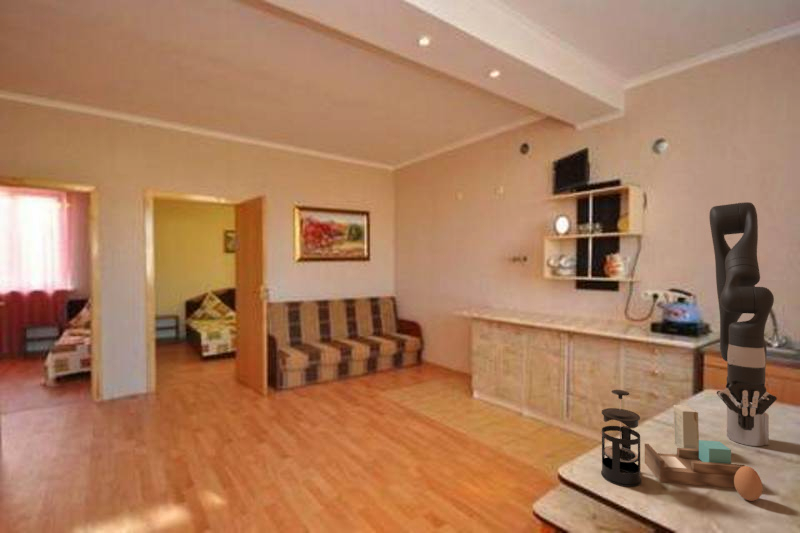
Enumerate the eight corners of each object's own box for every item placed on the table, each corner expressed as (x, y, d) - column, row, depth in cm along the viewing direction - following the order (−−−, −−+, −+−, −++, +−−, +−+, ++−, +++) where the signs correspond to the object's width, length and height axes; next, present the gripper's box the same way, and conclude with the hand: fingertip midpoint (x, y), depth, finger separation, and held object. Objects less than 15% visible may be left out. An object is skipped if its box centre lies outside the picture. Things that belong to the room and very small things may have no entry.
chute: (724, 468, 111) (724, 449, 111) (748, 489, 101) (748, 467, 101) (644, 462, 114) (644, 443, 114) (660, 481, 105) (660, 460, 105)
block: (719, 459, 109) (719, 441, 109) (731, 469, 104) (731, 449, 104) (698, 458, 110) (698, 440, 109) (709, 467, 105) (709, 448, 105)
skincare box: (699, 453, 120) (699, 412, 119) (683, 452, 120) (683, 411, 120) (688, 443, 126) (688, 404, 126) (673, 442, 127) (673, 404, 127)
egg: (728, 494, 99) (728, 461, 99) (747, 492, 99) (747, 460, 99) (748, 506, 94) (748, 472, 94) (768, 505, 94) (768, 471, 94)
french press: (635, 492, 100) (635, 400, 100) (595, 479, 106) (594, 392, 106) (646, 474, 108) (646, 388, 108) (608, 462, 115) (608, 382, 115)
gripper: (765, 360, 107) (765, 425, 107) (709, 358, 110) (709, 421, 110) (786, 367, 100) (786, 437, 100) (725, 365, 103) (725, 433, 103)
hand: (745, 429), depth 105 cm, fingers closed
